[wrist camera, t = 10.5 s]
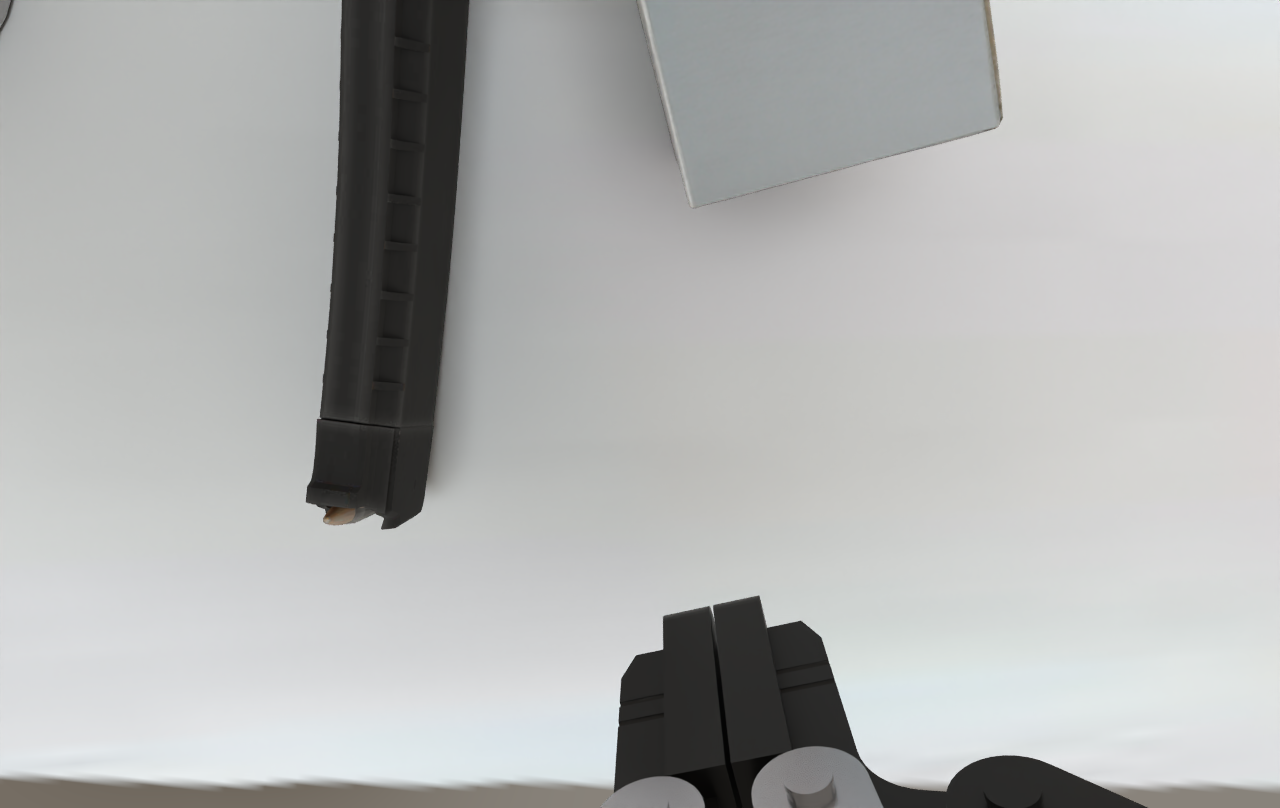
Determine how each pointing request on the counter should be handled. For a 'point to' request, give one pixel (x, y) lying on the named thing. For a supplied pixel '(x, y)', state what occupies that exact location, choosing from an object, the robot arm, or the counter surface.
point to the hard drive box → (815, 84)
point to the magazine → (389, 255)
